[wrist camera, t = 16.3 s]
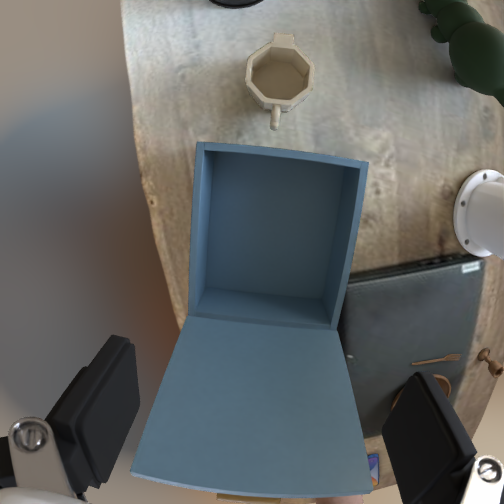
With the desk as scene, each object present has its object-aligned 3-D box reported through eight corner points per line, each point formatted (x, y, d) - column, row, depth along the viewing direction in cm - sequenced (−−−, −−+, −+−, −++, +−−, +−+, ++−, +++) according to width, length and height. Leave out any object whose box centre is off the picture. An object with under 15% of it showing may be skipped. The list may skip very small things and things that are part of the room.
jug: (253, 48, 31) (250, 30, 26) (309, 54, 31) (317, 38, 26) (244, 128, 35) (240, 124, 29) (301, 135, 35) (308, 132, 29)
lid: (129, 471, 16) (144, 500, 18) (374, 489, 16) (346, 516, 18) (187, 315, 34) (188, 356, 36) (337, 330, 34) (325, 369, 36)
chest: (210, 143, 35) (196, 141, 28) (350, 159, 35) (369, 162, 28) (200, 288, 41) (188, 316, 34) (325, 302, 41) (335, 331, 34)
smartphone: (378, 451, 52) (379, 455, 51) (378, 481, 56) (379, 485, 55) (343, 461, 53) (344, 464, 52) (348, 489, 57) (349, 492, 56)
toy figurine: (382, -27, 27) (453, 129, 32) (425, -106, 9) (554, 111, 14) (433, -26, 26) (499, 121, 31) (486, -88, 8) (593, 107, 12)
